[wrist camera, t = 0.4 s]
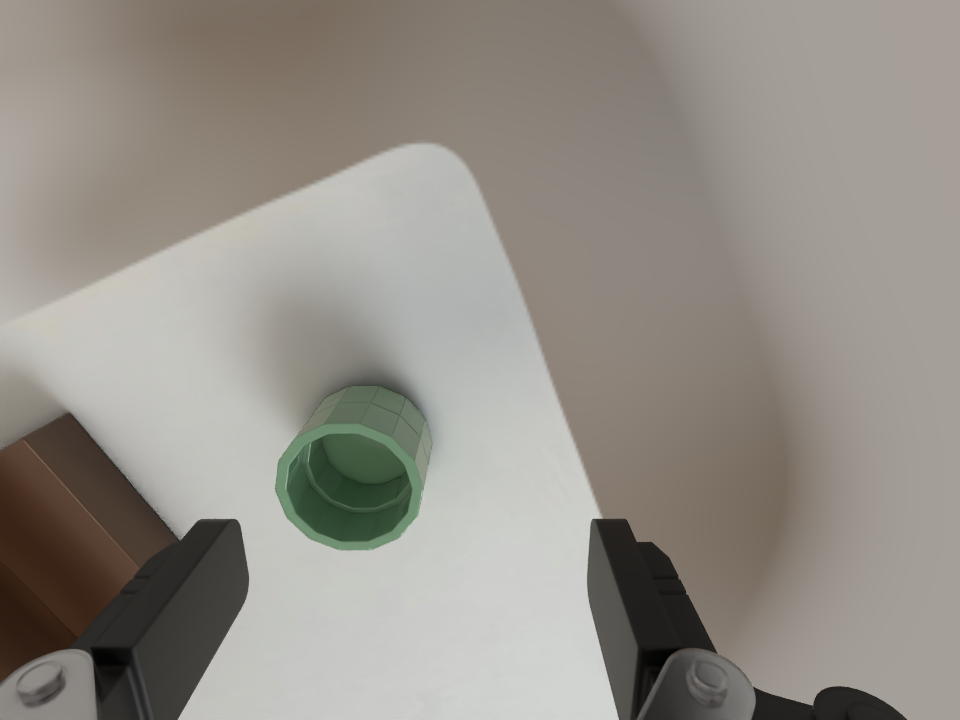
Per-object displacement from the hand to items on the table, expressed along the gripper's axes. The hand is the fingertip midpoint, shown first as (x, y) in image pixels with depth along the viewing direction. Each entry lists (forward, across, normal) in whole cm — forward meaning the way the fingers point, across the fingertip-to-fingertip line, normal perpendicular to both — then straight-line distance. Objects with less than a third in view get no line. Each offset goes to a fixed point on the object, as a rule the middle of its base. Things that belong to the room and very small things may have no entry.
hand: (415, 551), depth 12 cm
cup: (+15, +4, +5) cm, 17 cm away
